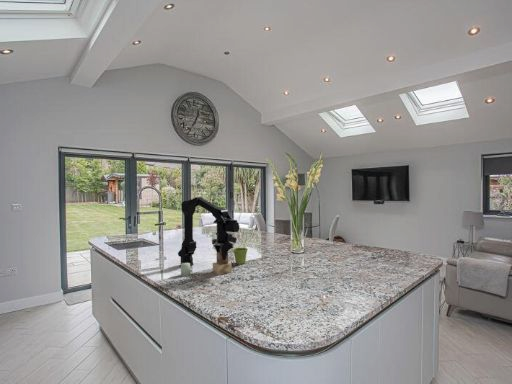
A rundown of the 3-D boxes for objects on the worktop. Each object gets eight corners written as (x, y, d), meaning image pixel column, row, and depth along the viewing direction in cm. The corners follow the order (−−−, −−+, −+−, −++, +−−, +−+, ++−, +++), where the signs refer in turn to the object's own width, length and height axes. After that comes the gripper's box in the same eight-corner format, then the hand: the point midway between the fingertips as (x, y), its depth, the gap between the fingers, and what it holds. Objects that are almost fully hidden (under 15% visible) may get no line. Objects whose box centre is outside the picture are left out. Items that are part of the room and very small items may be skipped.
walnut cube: (219, 264, 163) (219, 253, 163) (216, 262, 168) (216, 252, 167) (228, 263, 165) (228, 252, 165) (224, 261, 170) (224, 251, 170)
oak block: (218, 275, 161) (218, 266, 160) (212, 271, 168) (212, 262, 167) (231, 272, 165) (231, 263, 164) (225, 269, 172) (225, 260, 171)
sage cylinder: (179, 275, 160) (178, 264, 160) (184, 273, 165) (183, 262, 165) (187, 276, 158) (187, 265, 158) (192, 273, 163) (191, 263, 163)
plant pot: (246, 265, 179) (245, 251, 179) (231, 264, 181) (230, 250, 181) (249, 261, 188) (249, 247, 188) (235, 260, 190) (235, 247, 190)
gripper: (241, 232, 161) (242, 260, 162) (229, 228, 178) (229, 253, 178) (222, 233, 156) (222, 263, 157) (211, 229, 173) (211, 256, 173)
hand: (222, 258), depth 166 cm, fingers open, 7 cm apart
